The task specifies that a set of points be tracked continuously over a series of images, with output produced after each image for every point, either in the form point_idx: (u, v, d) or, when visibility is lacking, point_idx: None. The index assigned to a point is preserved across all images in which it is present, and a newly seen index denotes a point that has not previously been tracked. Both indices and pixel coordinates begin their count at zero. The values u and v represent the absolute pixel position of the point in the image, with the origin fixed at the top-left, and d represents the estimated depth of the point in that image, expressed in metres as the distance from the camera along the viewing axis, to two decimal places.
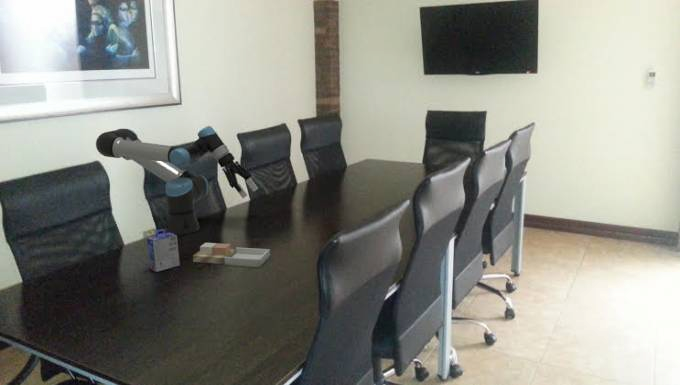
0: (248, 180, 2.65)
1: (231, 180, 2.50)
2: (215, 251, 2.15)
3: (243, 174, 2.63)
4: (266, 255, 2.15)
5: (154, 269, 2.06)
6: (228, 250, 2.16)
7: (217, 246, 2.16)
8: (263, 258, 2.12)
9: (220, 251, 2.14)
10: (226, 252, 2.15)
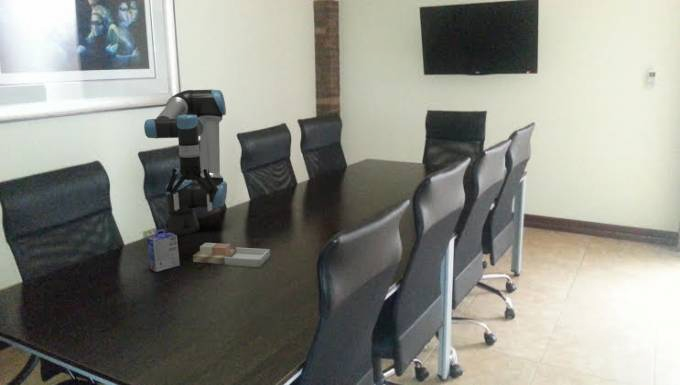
0: None
1: None
2: (215, 251, 2.15)
3: None
4: (266, 255, 2.15)
5: (154, 269, 2.06)
6: (228, 250, 2.16)
7: (217, 246, 2.16)
8: (263, 258, 2.12)
9: (220, 251, 2.14)
10: (226, 252, 2.15)
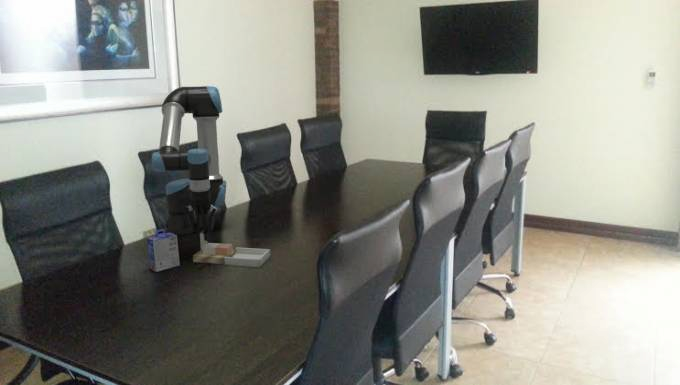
0: None
1: None
2: (217, 251, 2.15)
3: None
4: (266, 255, 2.15)
5: (154, 269, 2.06)
6: (229, 250, 2.16)
7: (219, 246, 2.16)
8: (263, 258, 2.12)
9: (222, 251, 2.14)
10: (228, 252, 2.15)
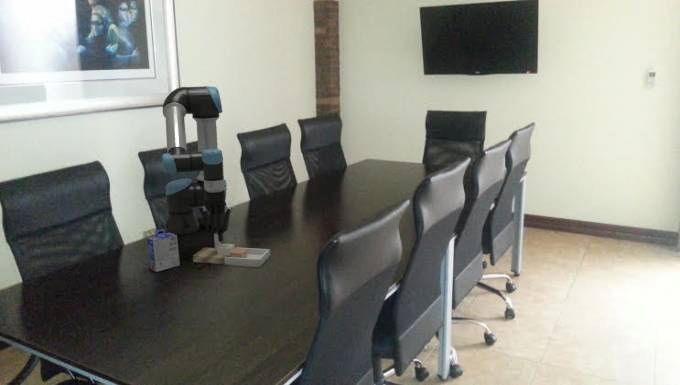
0: None
1: None
2: (232, 256, 2.14)
3: None
4: (266, 255, 2.15)
5: (154, 269, 2.06)
6: (244, 255, 2.15)
7: (234, 251, 2.15)
8: (263, 258, 2.12)
9: (237, 257, 2.13)
10: (243, 257, 2.14)
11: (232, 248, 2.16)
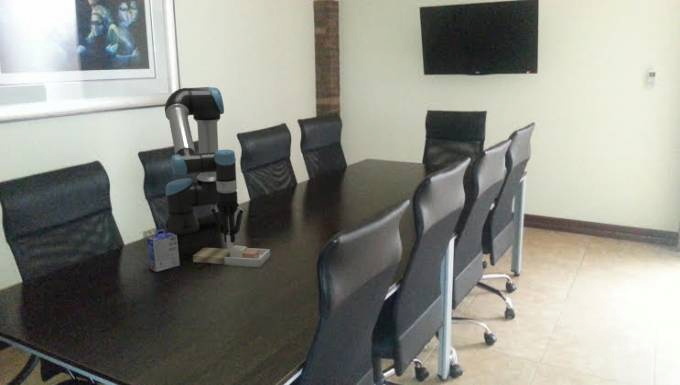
0: None
1: None
2: (244, 257, 2.13)
3: None
4: (266, 255, 2.15)
5: (154, 269, 2.06)
6: (256, 256, 2.14)
7: (246, 252, 2.14)
8: (263, 258, 2.12)
9: (249, 257, 2.13)
10: (255, 258, 2.13)
11: (244, 250, 2.15)
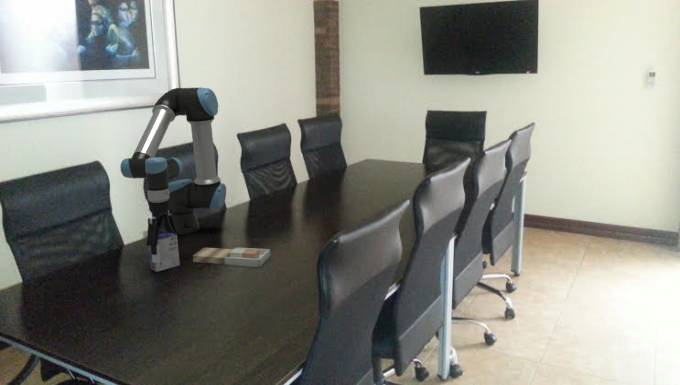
0: None
1: (151, 239, 1.99)
2: (244, 257, 2.13)
3: (168, 229, 2.11)
4: (266, 255, 2.15)
5: (154, 269, 2.06)
6: (256, 256, 2.14)
7: (246, 252, 2.14)
8: (263, 258, 2.12)
9: (249, 257, 2.13)
10: (255, 258, 2.13)
11: None
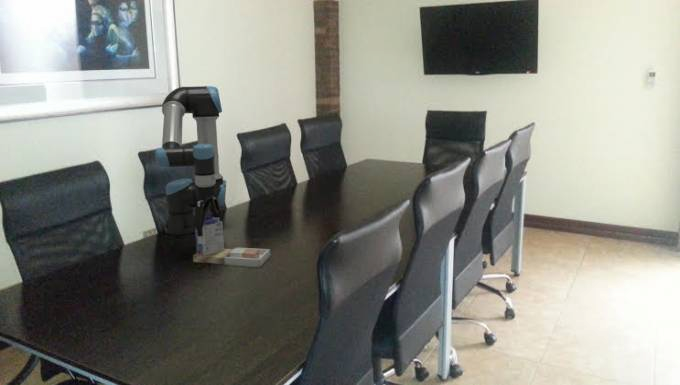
0: None
1: (198, 221, 2.06)
2: (244, 257, 2.13)
3: (214, 211, 2.19)
4: (266, 255, 2.15)
5: (201, 253, 2.14)
6: (256, 256, 2.14)
7: (246, 252, 2.14)
8: (263, 258, 2.12)
9: (249, 257, 2.13)
10: (255, 258, 2.13)
11: None
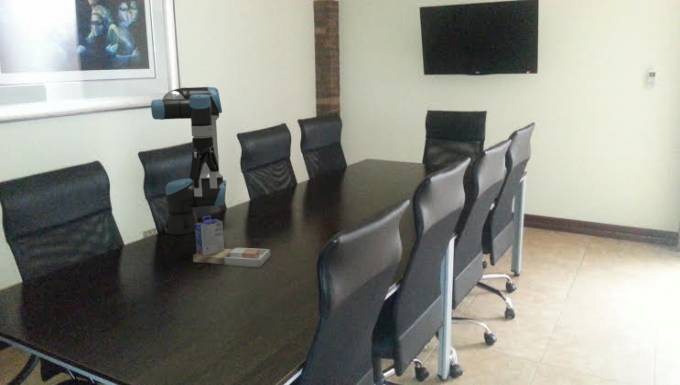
0: (212, 173, 2.17)
1: (194, 172, 2.01)
2: (244, 257, 2.13)
3: (211, 165, 2.15)
4: (266, 255, 2.15)
5: (201, 253, 2.14)
6: (256, 256, 2.14)
7: (246, 252, 2.14)
8: (263, 258, 2.12)
9: (249, 257, 2.13)
10: (255, 258, 2.13)
11: None
